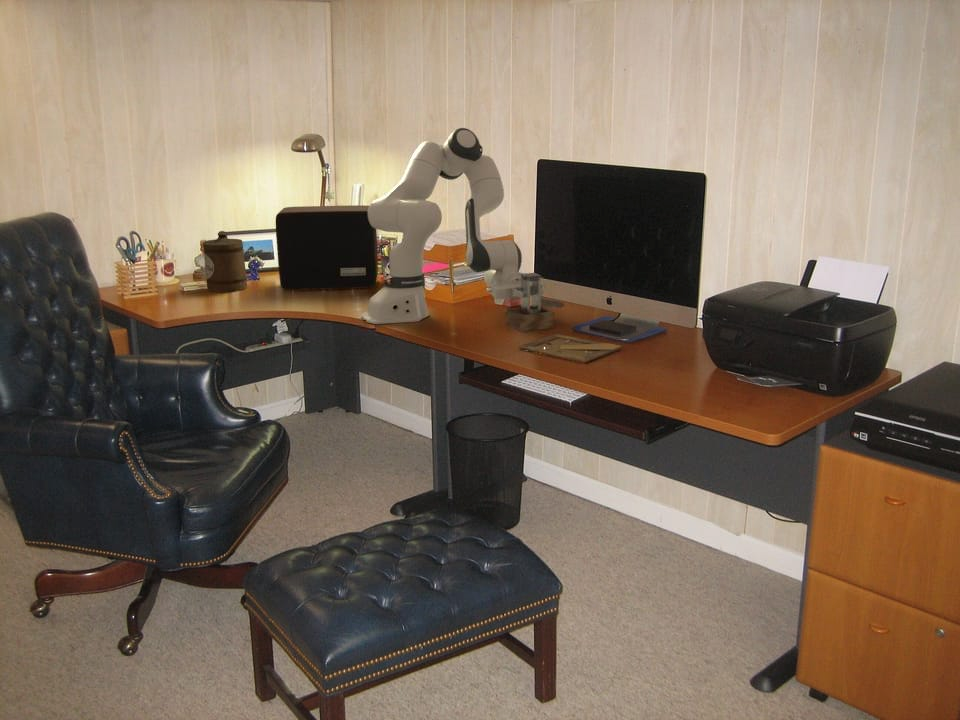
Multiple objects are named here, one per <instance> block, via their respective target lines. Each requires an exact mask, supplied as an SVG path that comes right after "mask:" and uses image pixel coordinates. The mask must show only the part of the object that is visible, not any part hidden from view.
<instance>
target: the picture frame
mask: <svg viewBox="0 0 960 720" xmlns="http://www.w3.org/2000/svg"><path fill="white" fill-rule="evenodd" d="M622 348H623V347H622V345H619V344H614V343H608V342H599V341H594V340H590V339H585V338H580V337H579V338H578V337H574V336H569V335H563V334H559V333H554V334H551V335H548V336H546V337H541V338H540V339H539V338H538V339H536V340H534V341H531V342H528V343H525V344H523V345H520V346H518V349H523V350H528V351H532V352H537V353H542V354H546V355H551V356H554V357H553V358H555V357H559V358H564V359H569V360H573V361H578V362H583V363H585V364H587V363H589V361H590V362H591V360H592V361H594V359H595V360H596V359H599V357H600V358H602V357H604V356H607V355H609V354H611V353H614V352H617V351H619V350H621V349H622ZM523 350H522V351H523ZM532 352H531V353H532ZM546 355H545V356H546ZM559 358H558V359H559ZM564 359H563V360H564ZM569 360H568V361H569ZM573 361H572V362H573ZM578 362H577V363H578ZM586 362H587V363H586Z"/></svg>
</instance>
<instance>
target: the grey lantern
mask: <svg viewBox="0 0 960 720" xmlns="http://www.w3.org/2000/svg"><path fill="white" fill-rule="evenodd" d="M526 273H527V274H521V291H525V293H526V294H525V295H526V297H522V298H521V297H520V307H521V314H523V315H528V314H537V313H541V307H542V306H541V304H542V303H541V302H542V300H541V299H542V298H541V297H542V295H541V277H542V275H541V274H538V273H536V272H526ZM531 281H532V295H530V282H531ZM530 306H532V310H530Z"/></svg>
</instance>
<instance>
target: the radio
mask: <svg viewBox="0 0 960 720" xmlns="http://www.w3.org/2000/svg"><path fill="white" fill-rule="evenodd" d="M369 206H370V205H360V204H359V205H354V204H353V205H351V204H350V205H316V206H315V205H314V206H313V205H312V206H310V205H309V206H306V205H305V206H287V207H286V206H285V207H283V208H282V209H281V210H280V211H279V212H278V213H277V214H276V216H275V234H276V238H275V239H276V250H277V262H278V263H277V264H278V265H277V266H278V275H279V277H278V278H279V284H280V287H281V289H283V290H295V291H299V290H329V289H330V290H334V289H335V290H340V289H344V290H345V289H361V290H363V289H367V288H369V289H370V288H374V287H375V286H376V284H377V279H378V272H379V269H378V268H379V266H378V265H379V264H378V263H379V262H378V257H379V256H378V240H377V239H378V238H377V237H378V236H377V235H378V233H377V229H376V228H373V227H372V226H371V224H370V223H369V220H368V209H369Z"/></svg>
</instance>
